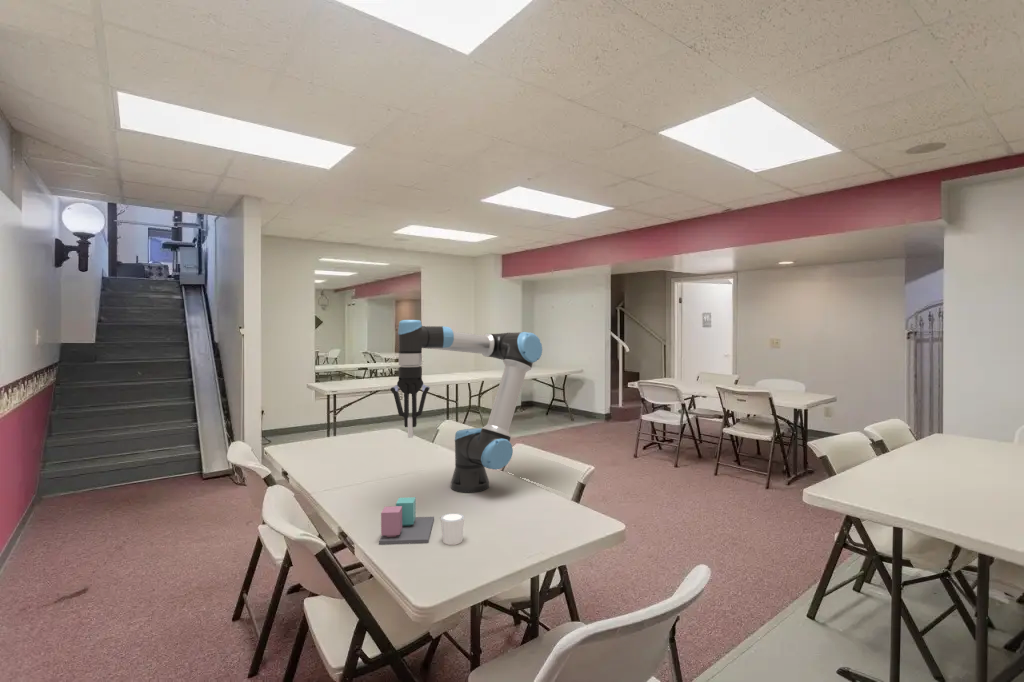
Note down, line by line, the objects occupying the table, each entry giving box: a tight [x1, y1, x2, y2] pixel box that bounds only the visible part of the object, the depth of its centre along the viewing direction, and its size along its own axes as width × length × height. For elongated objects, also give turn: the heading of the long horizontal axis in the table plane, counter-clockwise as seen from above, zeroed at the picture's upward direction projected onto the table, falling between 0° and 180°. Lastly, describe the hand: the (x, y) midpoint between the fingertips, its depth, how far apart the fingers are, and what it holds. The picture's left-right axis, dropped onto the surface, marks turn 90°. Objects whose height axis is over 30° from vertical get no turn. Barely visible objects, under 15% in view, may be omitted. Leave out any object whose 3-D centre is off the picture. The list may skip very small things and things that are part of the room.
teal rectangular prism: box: [395, 496, 417, 525], centre depth 149 cm, size 5×5×7 cm
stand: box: [378, 505, 435, 546], centre depth 147 cm, size 14×18×9 cm
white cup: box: [440, 512, 465, 546], centre depth 140 cm, size 7×7×7 cm
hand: (410, 436), depth 160 cm, fingers closed
